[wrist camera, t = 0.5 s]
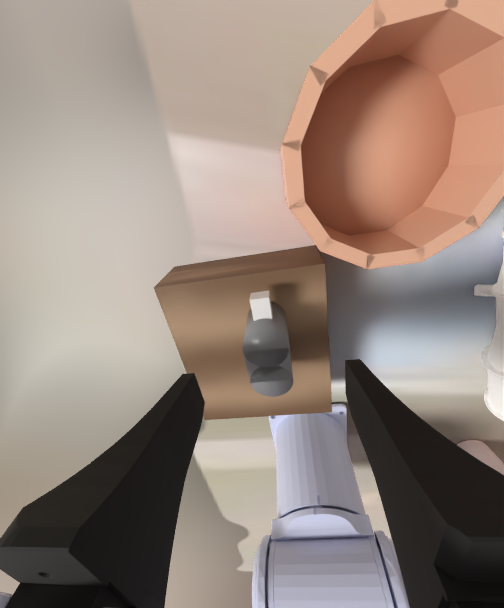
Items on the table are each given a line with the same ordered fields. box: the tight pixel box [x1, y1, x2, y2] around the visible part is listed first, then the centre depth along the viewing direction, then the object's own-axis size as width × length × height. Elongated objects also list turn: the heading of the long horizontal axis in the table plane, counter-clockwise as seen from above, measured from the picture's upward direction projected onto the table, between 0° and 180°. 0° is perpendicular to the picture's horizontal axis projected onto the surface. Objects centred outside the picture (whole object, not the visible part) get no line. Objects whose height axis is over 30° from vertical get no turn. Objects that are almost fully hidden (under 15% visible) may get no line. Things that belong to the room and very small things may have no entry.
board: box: [154, 246, 332, 420], centre depth 21 cm, size 13×11×4 cm
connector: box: [243, 291, 293, 397], centre depth 16 cm, size 6×3×3 cm, turn 10°
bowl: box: [280, 0, 504, 269], centre depth 14 cm, size 11×11×5 cm
